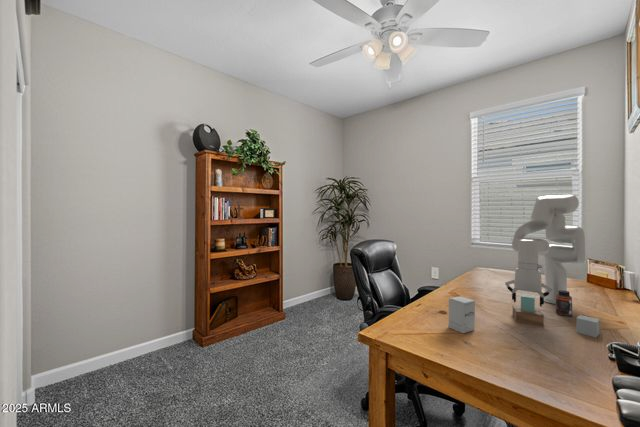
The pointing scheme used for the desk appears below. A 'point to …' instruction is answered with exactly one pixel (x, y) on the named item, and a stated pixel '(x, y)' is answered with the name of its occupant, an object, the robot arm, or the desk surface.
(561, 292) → the supplement bottle
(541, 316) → the walnut block
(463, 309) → the supplement box
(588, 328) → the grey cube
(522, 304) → the teal cube
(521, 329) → the desk surface
